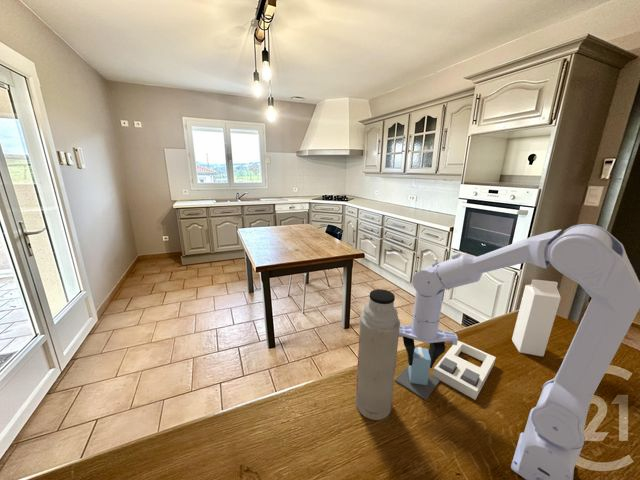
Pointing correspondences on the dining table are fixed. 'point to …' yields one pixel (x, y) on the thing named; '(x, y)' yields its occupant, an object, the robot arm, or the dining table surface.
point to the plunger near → (470, 377)
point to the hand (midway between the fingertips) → (419, 363)
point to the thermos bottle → (377, 355)
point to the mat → (418, 389)
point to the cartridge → (420, 366)
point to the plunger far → (448, 365)
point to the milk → (536, 317)
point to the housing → (462, 364)
